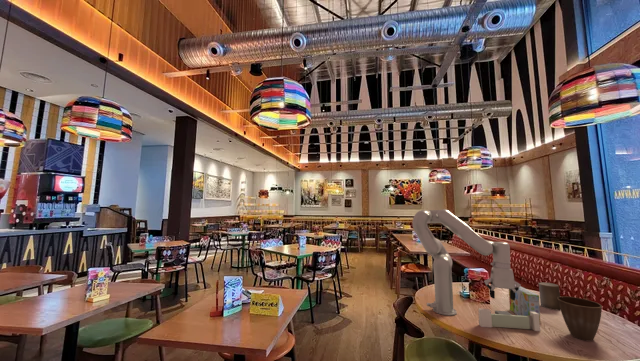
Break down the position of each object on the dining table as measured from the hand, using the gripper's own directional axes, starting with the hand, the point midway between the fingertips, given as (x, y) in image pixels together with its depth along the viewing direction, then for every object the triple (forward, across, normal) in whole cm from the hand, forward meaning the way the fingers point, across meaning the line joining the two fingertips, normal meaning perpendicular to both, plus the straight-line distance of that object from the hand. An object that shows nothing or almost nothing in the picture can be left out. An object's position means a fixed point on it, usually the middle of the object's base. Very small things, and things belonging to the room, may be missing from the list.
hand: (502, 298), depth 138 cm
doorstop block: (+12, +1, 0) cm, 12 cm away
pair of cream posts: (+12, -1, -6) cm, 14 cm away
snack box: (+12, +16, +10) cm, 23 cm away
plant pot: (+11, +28, -12) cm, 32 cm away
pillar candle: (+11, +42, +30) cm, 53 cm away
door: (+12, +1, -6) cm, 13 cm away
